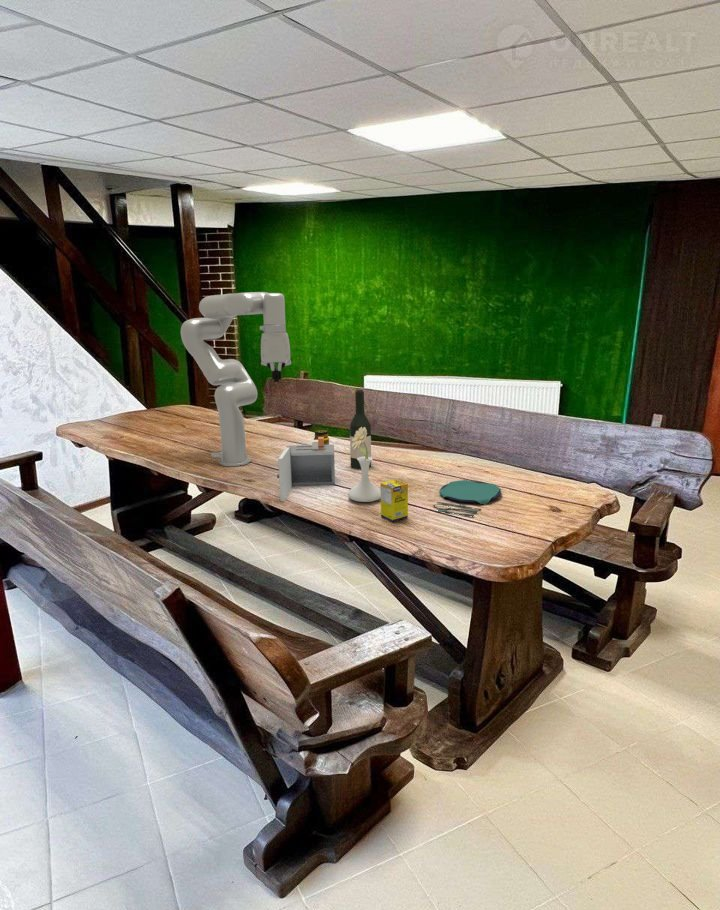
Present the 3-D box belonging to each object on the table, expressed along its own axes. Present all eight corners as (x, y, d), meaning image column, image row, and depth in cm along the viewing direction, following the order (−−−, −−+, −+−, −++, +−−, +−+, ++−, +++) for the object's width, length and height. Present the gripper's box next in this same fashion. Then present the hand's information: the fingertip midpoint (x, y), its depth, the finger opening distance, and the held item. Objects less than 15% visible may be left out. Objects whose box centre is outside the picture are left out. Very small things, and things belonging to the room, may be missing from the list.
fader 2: (318, 446, 216) (317, 438, 216) (318, 444, 219) (318, 437, 218) (323, 446, 216) (323, 438, 216) (323, 444, 219) (323, 436, 218)
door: (286, 486, 213) (284, 446, 209) (292, 486, 213) (290, 446, 209) (277, 501, 198) (275, 458, 194) (284, 501, 198) (282, 458, 194)
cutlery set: (508, 490, 205) (508, 484, 204) (478, 522, 180) (478, 514, 179) (453, 482, 214) (453, 476, 214) (417, 511, 190) (417, 504, 189)
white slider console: (289, 485, 213) (287, 452, 210) (291, 477, 222) (289, 445, 219) (334, 484, 213) (333, 451, 210) (334, 476, 223) (334, 444, 220)
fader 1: (312, 449, 212) (312, 441, 212) (312, 447, 215) (312, 439, 214) (318, 449, 213) (317, 441, 212) (318, 447, 215) (318, 439, 214)
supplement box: (408, 518, 182) (408, 483, 179) (392, 522, 179) (392, 487, 176) (395, 512, 187) (395, 478, 184) (380, 516, 183) (380, 482, 180)
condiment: (333, 460, 243) (332, 431, 240) (315, 464, 238) (314, 434, 235) (324, 456, 249) (323, 428, 245) (306, 460, 244) (305, 431, 241)
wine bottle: (356, 470, 229) (354, 392, 221) (346, 465, 236) (344, 388, 228) (375, 467, 233) (374, 389, 224) (365, 462, 240) (364, 386, 232)
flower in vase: (348, 493, 204) (347, 420, 198) (382, 493, 204) (382, 420, 197) (346, 507, 192) (345, 430, 185) (382, 507, 191) (382, 429, 185)
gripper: (251, 330, 209) (254, 383, 214) (295, 330, 209) (297, 383, 214) (254, 328, 216) (257, 379, 221) (296, 328, 216) (298, 379, 222)
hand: (276, 381), depth 218 cm, fingers closed
